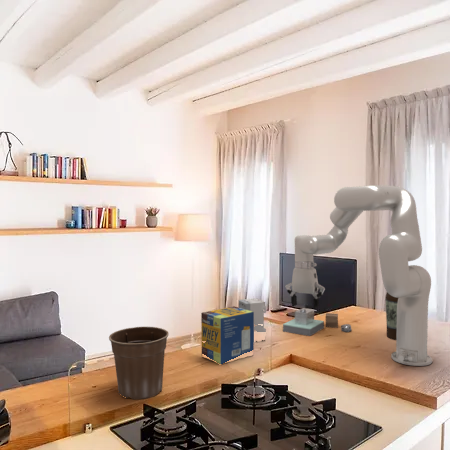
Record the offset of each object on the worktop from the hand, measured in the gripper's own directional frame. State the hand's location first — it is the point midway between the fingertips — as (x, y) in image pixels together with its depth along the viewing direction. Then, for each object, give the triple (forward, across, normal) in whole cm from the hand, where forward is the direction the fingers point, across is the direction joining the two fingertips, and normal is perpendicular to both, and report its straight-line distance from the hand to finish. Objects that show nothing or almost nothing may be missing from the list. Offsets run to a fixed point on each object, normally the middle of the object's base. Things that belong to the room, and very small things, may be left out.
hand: (305, 306), depth 188 cm
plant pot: (+10, +12, +83) cm, 84 cm away
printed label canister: (+11, -34, -11) cm, 38 cm away
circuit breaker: (+10, +13, +26) cm, 31 cm away
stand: (+10, +1, 0) cm, 10 cm away
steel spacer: (+10, -14, -8) cm, 19 cm away
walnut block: (+10, -6, -12) cm, 17 cm away
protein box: (+10, +8, +45) cm, 47 cm away
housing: (+7, 0, 0) cm, 7 cm away
